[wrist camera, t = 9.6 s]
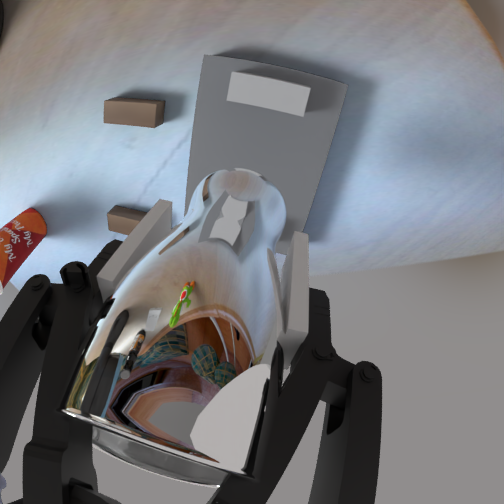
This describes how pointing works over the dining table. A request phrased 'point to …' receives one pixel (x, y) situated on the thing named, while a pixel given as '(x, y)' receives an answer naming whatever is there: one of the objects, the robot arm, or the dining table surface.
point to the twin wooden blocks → (135, 115)
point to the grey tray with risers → (265, 129)
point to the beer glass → (191, 342)
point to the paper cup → (19, 242)
